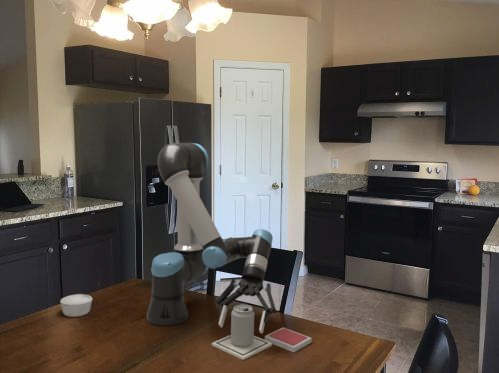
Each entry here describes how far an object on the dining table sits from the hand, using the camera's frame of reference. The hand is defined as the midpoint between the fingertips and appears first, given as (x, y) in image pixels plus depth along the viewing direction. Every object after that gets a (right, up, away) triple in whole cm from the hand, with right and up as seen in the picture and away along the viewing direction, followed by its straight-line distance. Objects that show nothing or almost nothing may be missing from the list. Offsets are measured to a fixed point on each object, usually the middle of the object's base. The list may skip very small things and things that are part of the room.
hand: (240, 328), depth 147 cm
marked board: (+1, -6, +3) cm, 7 cm away
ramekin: (-62, -2, +27) cm, 68 cm away
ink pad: (+16, -6, +7) cm, 18 cm away
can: (+1, -6, +3) cm, 7 cm away
